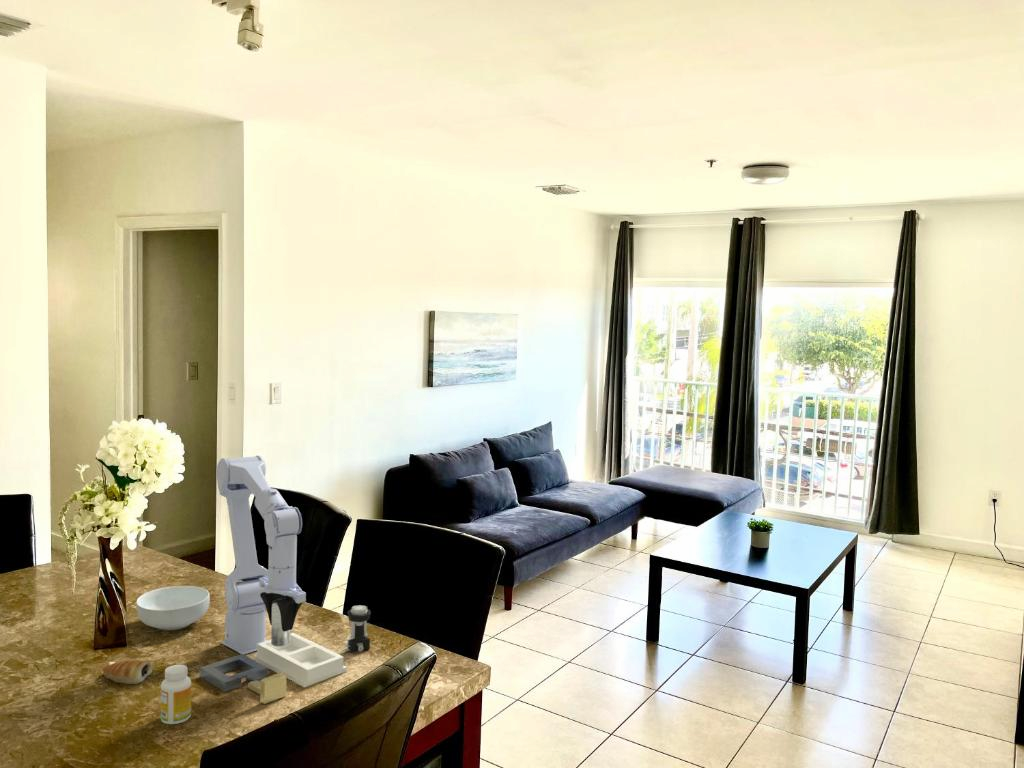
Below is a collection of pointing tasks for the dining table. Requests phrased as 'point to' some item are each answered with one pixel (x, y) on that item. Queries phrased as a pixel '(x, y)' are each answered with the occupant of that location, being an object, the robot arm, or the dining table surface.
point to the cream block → (270, 687)
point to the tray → (301, 660)
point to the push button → (358, 629)
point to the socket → (224, 682)
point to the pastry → (128, 671)
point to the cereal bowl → (172, 606)
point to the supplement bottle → (175, 695)
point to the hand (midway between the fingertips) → (281, 626)
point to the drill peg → (278, 628)
